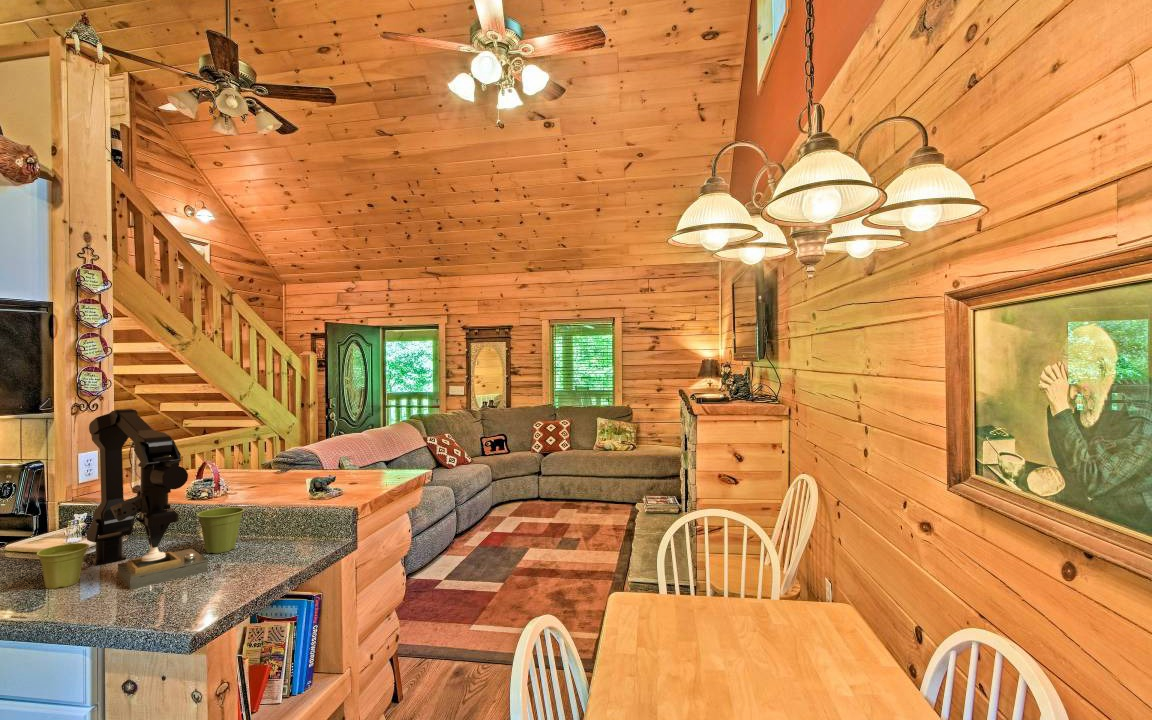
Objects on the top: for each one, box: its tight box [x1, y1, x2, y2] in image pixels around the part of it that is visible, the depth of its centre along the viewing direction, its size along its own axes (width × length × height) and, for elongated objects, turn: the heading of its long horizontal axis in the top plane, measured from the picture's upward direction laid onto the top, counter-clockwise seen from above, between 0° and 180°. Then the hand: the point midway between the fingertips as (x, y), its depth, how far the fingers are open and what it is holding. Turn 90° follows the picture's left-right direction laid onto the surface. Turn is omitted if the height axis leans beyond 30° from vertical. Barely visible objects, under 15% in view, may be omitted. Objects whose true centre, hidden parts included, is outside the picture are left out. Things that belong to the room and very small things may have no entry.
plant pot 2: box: [196, 506, 246, 554], centre depth 161 cm, size 12×12×11 cm
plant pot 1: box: [36, 542, 90, 590], centre depth 135 cm, size 9×9×9 cm
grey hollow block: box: [117, 548, 209, 590], centre depth 142 cm, size 14×16×5 cm
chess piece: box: [141, 536, 166, 561], centre depth 141 cm, size 5×5×10 cm
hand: (153, 546), depth 141 cm, fingers closed on chess piece
